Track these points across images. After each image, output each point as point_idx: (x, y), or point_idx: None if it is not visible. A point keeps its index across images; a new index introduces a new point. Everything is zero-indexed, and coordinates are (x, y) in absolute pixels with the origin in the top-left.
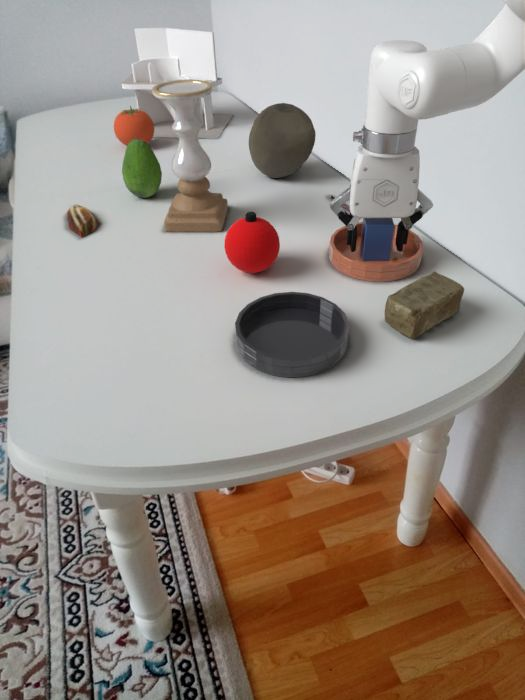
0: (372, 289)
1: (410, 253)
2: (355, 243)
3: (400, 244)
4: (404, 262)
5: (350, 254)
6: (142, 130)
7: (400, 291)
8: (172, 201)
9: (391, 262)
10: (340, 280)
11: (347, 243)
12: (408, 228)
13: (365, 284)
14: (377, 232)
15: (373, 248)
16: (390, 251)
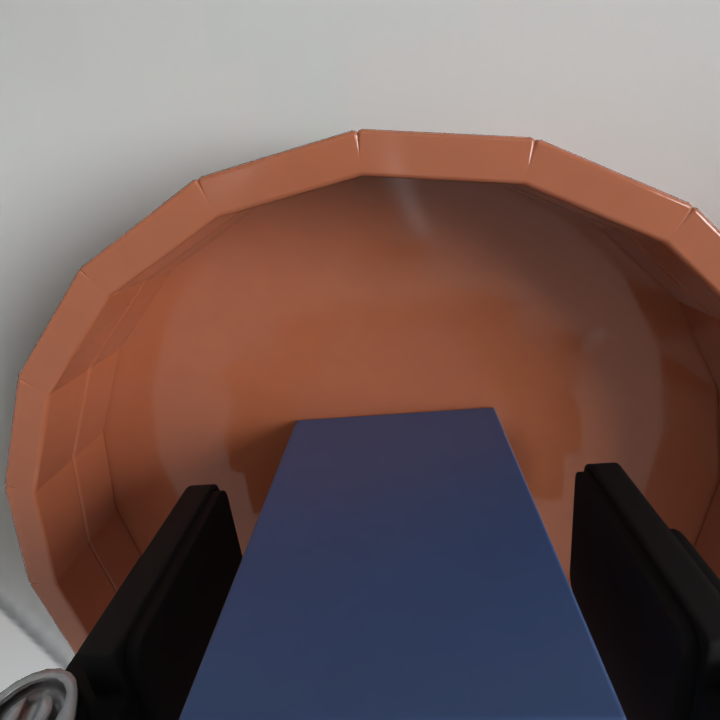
0: (438, 4)
1: (158, 518)
2: (616, 518)
3: (187, 524)
4: (129, 232)
5: None
6: None
7: None
8: None
9: (280, 402)
10: (706, 136)
11: (679, 534)
12: (47, 686)
13: (493, 90)
14: (421, 610)
15: (431, 473)
16: (280, 463)
